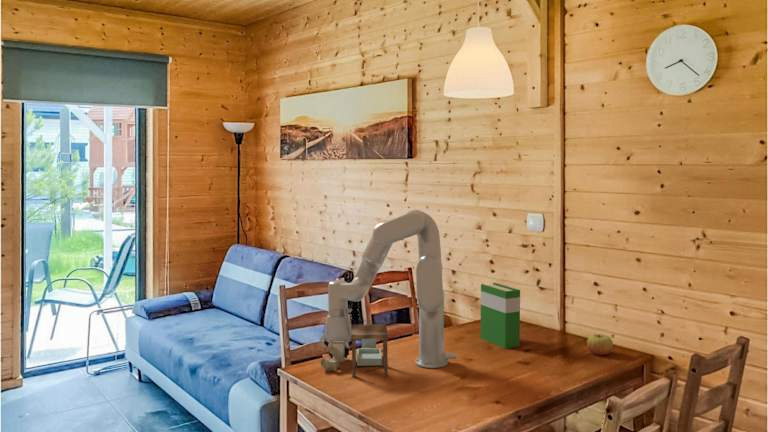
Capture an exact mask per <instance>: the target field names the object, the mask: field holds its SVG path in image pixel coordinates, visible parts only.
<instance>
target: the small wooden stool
mask: <svg viewBox="0 0 768 432" xmlns="http://www.w3.org/2000/svg"><path fill="white" fill-rule="evenodd" d="M387 327H388V326H387V324H386V323H382V324H381V323H379V324H378V323H377V324H376V323H375V324H374V323H373V324H371V323H370V324H364V323H363V324H351V331H352V335H351V340H352V345H351V366H352V367H351V369H352V371H351V372H352V373H351V374H352V376H351V377H352V378H356V377H357V375H356V374H357V373H356V371H357V370H356V367H357V355H356V354H357V348H356V347H357V346H356V342H357V340H362V339H376V340H380V339H382V367H383V377H384V378H386V377H387V378H388V377H389V376H388V375H389V374H388V367H389V366H388V339H389V337H388V336H389V335H388V328H387ZM356 339H357V340H356Z"/></svg>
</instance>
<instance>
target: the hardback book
mask: <svg viewBox="0 0 768 432" xmlns="http://www.w3.org/2000/svg"><path fill="white" fill-rule="evenodd" d="M520 321H521V289H517V288H515V287H511V286H509V285H508V286H507V285H505V284H500V283H498V282H493V283H492V284H489V285H487V284H483V283H481V284H480V335H479V336H480V339H483V340H484V341H487V342H489V343H491V344H494V345H496V346H498V347H500V348H503V349H511V348H517V347H520V338H521V337H520V334H521V333H520V329H521V326H520V324H521V322H520Z"/></svg>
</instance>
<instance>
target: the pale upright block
mask: <svg viewBox="0 0 768 432" xmlns="http://www.w3.org/2000/svg"><path fill="white" fill-rule="evenodd" d="M332 346H333V347H335V348H337V349H338V350H339V351H341V355H342V357H341V360H340V363H343V362H345V361H346V358H345V347H346V345H345V342H344V341H333V342H332ZM331 359H333V360H335V357H334V356H333V355H332V358H331Z"/></svg>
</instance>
